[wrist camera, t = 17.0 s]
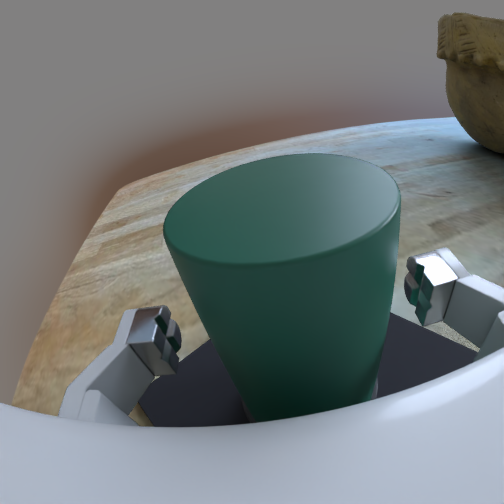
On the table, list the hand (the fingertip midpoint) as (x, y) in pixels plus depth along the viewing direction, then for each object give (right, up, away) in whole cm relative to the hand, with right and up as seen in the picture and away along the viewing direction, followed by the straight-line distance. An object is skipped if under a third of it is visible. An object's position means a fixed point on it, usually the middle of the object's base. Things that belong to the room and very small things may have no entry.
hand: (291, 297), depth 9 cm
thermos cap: (+1, -5, +2) cm, 5 cm away
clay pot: (+36, +17, +21) cm, 45 cm away
